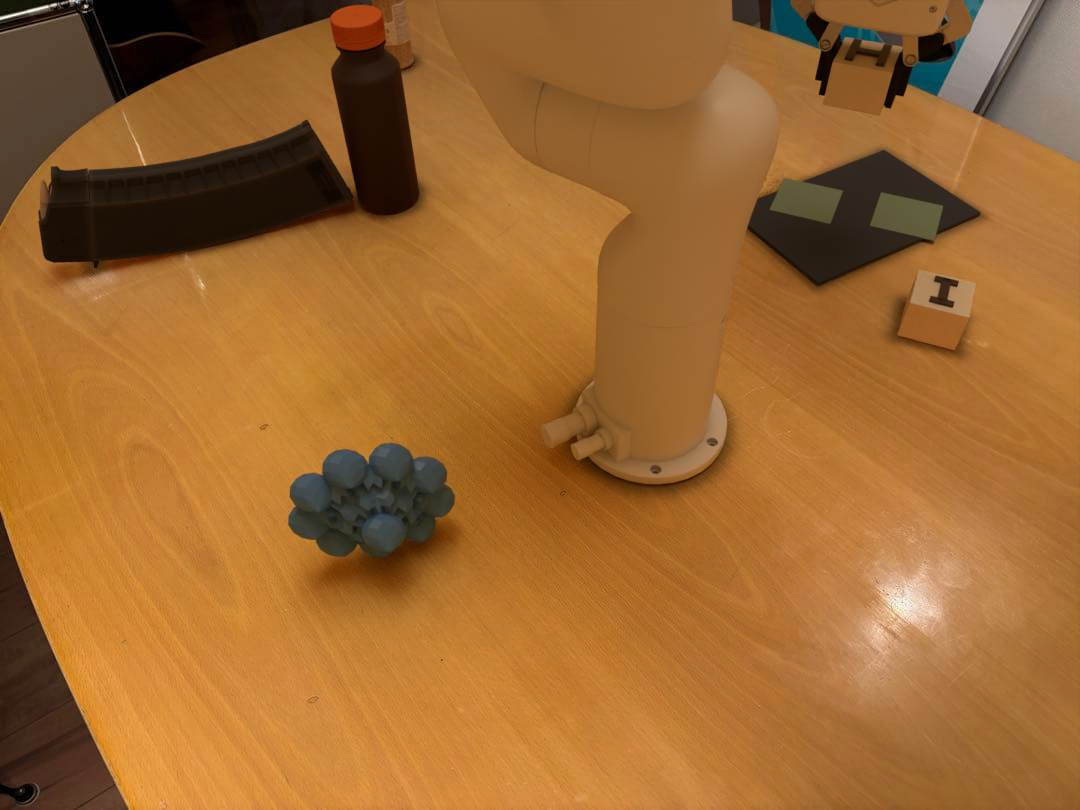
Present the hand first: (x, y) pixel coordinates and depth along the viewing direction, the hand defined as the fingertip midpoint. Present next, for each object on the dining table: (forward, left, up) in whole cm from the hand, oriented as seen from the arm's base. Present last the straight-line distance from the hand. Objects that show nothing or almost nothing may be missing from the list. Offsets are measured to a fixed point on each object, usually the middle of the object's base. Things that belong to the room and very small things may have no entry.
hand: (857, 92), depth 78 cm
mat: (+5, +1, -16) cm, 17 cm away
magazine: (-55, +32, -16) cm, 65 cm away
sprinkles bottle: (-23, +57, -16) cm, 64 cm away
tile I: (-1, -16, -16) cm, 22 cm away
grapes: (-54, -14, -16) cm, 58 cm away
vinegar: (-36, +29, -16) cm, 49 cm away
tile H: (0, 0, 0) cm, 0 cm away
